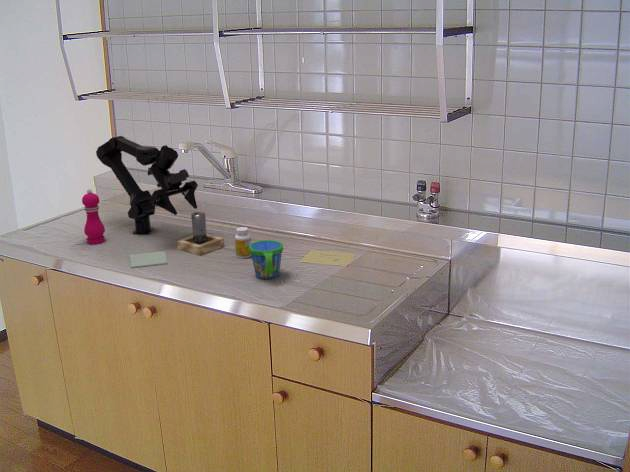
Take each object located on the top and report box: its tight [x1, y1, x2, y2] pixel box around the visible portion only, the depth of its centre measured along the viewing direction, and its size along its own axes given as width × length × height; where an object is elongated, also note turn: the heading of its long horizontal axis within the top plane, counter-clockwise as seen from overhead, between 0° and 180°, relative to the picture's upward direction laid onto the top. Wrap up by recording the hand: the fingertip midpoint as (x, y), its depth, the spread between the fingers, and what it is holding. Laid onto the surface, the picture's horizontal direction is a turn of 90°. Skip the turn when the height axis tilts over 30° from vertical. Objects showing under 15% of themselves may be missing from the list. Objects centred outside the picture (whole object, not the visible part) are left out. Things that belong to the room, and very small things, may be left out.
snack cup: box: [249, 239, 284, 280], centre depth 219 cm, size 16×10×10 cm
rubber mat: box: [129, 250, 169, 269], centre depth 237 cm, size 12×12×1 cm
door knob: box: [191, 211, 208, 245], centre depth 246 cm, size 6×6×12 cm
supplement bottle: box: [234, 226, 252, 259], centre depth 237 cm, size 5×5×10 cm
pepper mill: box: [81, 188, 106, 245], centre depth 254 cm, size 7×7×20 cm
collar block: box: [176, 233, 225, 257], centre depth 248 cm, size 12×12×3 cm
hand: (186, 211), depth 248 cm, fingers open, 9 cm apart
